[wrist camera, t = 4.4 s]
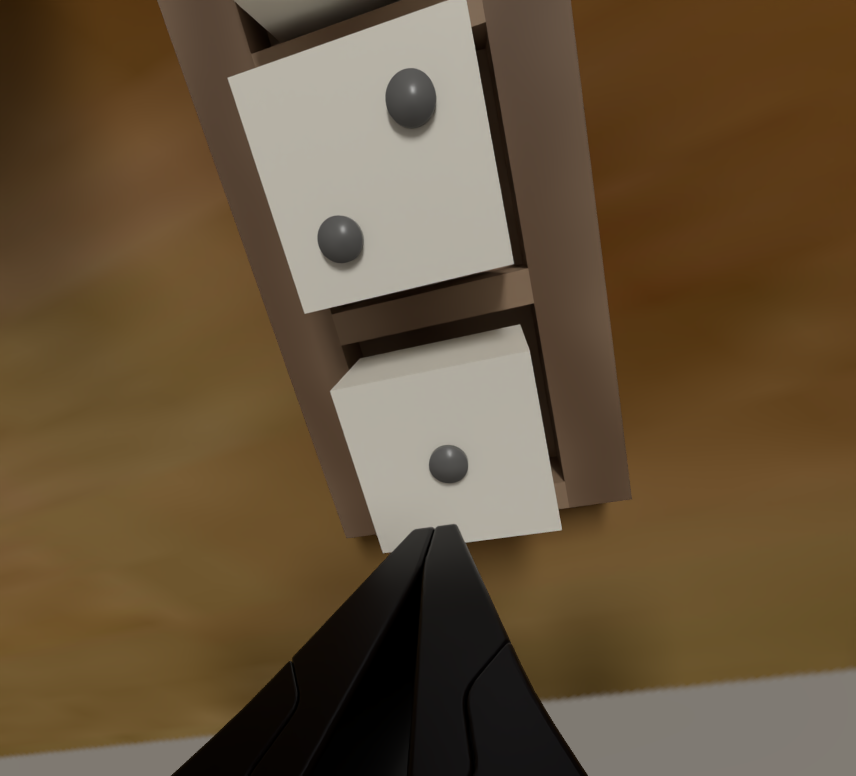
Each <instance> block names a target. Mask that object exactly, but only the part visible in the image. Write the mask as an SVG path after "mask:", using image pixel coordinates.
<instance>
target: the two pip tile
mask: <svg viewBox="0 0 856 776" xmlns="http://www.w3.org/2000/svg"><path fill="white" fill-rule="evenodd" d="M228 81H229V84H230V87H231V90H232V93H233V96H234V99H235V102H236V106H237V109H238V112H239V115H240V118H241V121H242V124H243V127H244V130H245V133H246V136H247V139H248V142H249V145H250V148H251V151H252V154H253V157H254V161H255V164H256V167H257V170H258V173H259V176H260V179H261V182H262V185H263V188H264V191H265V194H266V197H267V200H268V203H269V206H270V209H271V213H272V216H273V219H274V222H275V225H276V228H277V231H278V234H279V237H280V240H281V243H282V246H283V249H284V252H285V255H286V258H287V261H288V264H289V268H290V271H291V274H292V277H293V280H294V283H295V286H296V289H297V292H298V295H299V298H300V301H301V304H302V307H303V310H304V313H305V314H306V313H310V312H315V311H319V310H323V309H327V308H331V307H336V306H340V305H344V304H348V303H352V302H357V301H361V300H365V299H369V298H373V297H378V296H382V295H386V294H390V293H394V292H399V291H403V290H407V289H411V288H415V287H420V286H424V285H428V284H432V283H436V282H441V281H445V280H449V279H453V278H458V277H462V276H466V275H470V274H474V273H479V272H483V271H487V270H491V269H495V268H500V267H504V266H508V265H512V264H514V261H513V255H512V250H511V244H510V239H509V233H508V228H507V222H506V217H505V211H504V206H503V200H502V194H501V189H500V183H499V178H498V172H497V167H496V161H495V156H494V150H493V145H492V139H491V134H490V128H489V122H488V117H487V111H486V106H485V100H484V95H483V89H482V84H481V78H480V73H479V67H478V61H477V56H476V50H475V45H474V39H473V34H472V28H471V23H470V17H469V12H468V6H467V1H466V0H447V1H444V2H441V3H438V4H435V5H433V6H430V7H427V8H424V9H421V10H418V11H416V12H413V13H410V14H407V15H404V16H401V17H399V18H396V19H393V20H390V21H387V22H384V23H382V24H379V25H376V26H373V27H370V28H367V29H365V30H362V31H359V32H356V33H353V34H350V35H348V36H345V37H342V38H339V39H336V40H333V41H330V42H328V43H325V44H322V45H319V46H316V47H313V48H311V49H308V50H305V51H302V52H299V53H296V54H294V55H291V56H288V57H285V58H282V59H279V60H277V61H274V62H271V63H268V64H265V65H262V66H260V67H257V68H254V69H251V70H248V71H245V72H243V73H240V74H237V75H234V76H231V77H228Z"/></svg>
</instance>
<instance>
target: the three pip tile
mask: <svg viewBox="0 0 856 776" xmlns="http://www.w3.org/2000/svg"><path fill="white" fill-rule="evenodd" d="M234 1H235V2H236V3H237V4H238V5H239V6H240V7H241V8H243V9H244V10H245V11H246V12H247V13H248V14H249V15H250V16H252V17H253V18H254V19H255V20H256V21H257V22H258V23H259V24H260V25H262V26H263V27H264V28H265V29H266V30H267V31H268V32H269V33H271V34H272V35H273V36H274V37H275V38H276V39H277V40H278V41H280V42H281V43H284V42H286V41H289V40H292V39H295V38H297V37H300V36H303V35H306V34H309V33H311V32H314V31H317V30H320V29H323V28H325V27H328V26H331V25H334V24H336V23H339V22H342V21H345V20H348V19H350V18H353V17H356V16H359V15H361V14H364V13H367V12H370V11H373V10H375V9H378V8H381V7H384V6H387V5H389V4H392V3H395V2H398V1H400V0H234Z"/></svg>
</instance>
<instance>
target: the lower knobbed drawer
mask: <svg viewBox="0 0 856 776" xmlns="http://www.w3.org/2000/svg"><path fill="white" fill-rule="evenodd" d="M330 393H331V396H332V399H333V402H334V405H335V408H336V411H337V414H338V417H339V420H340V423H341V426H342V430H343V433H344V436H345V439H346V442H347V445H348V448H349V451H350V454H351V457H352V460H353V463H354V466H355V469H356V472H357V475H358V478H359V481H360V485H361V488H362V491H363V494H364V497H365V500H366V503H367V506H368V509H369V512H370V515H371V518H372V521H373V524H374V527H375V530H376V533H377V536H378V540H379V543H380V546H381V549H382V552H383V553H389V552H393V550H394V549H395V548H396V547H397V546H398V545H399V544H400V543H401V542H402V541H403V540H404V539H405V538H406V537H407V536H408V535H409V534H410V532H411V531H413V530H414V529H419V528H427V527H433V528H436V527H437V526H441V525H449V524H456V525H457V526H458V528H459V530H460V532H461V534H462V537H463V539H464V541H465V543H466V542H474V541H482V540H489V539H497V538H505V537H513V536H520V535H528V534H536V533H544V532H551V531H559V530H562V527H561V521H560V516H559V510H558V505H557V499H556V494H555V488H554V482H553V477H552V471H551V466H550V460H549V455H548V449H547V444H546V438H545V433H544V427H543V422H542V416H541V410H540V405H539V399H538V394H537V388H536V383H535V377H534V372H533V366H532V361H531V355H530V350H529V347H528V345H527V342H526V339H525V336H524V333H523V331H522V328H521V325H520V324H519V325H514V326H510V327H505V328H500V329H496V330H491V331H486V332H482V333H477V334H472V335H467V336H463V337H458V338H453V339H449V340H444V341H439V342H435V343H430V344H425V345H421V346H416V347H411V348H406V349H402V350H397V351H392V352H388V353H383V354H378V355H374V356H369V357H364V358H360V359H359V360H358V361H357V362H356V363H355V364H354V365H353V367H352V368H351V369H350V370H349V371H348V372H347V373H346V374H345V375H344V376H343V377H342V379H341V380H340V381H339V382H338V383H337V384H336V385H335V386H334V387H333V388H332V389H331V390H330Z"/></svg>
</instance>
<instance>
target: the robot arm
mask: <svg viewBox="0 0 856 776" xmlns="http://www.w3.org/2000/svg"><path fill="white" fill-rule="evenodd" d="M292 662H293V663H292ZM292 662H291V661H289V662H288V663H287V664H286V665H285V666H284V667H283V668H282V669H281V670H280V671H279V672H278V673H277V674H276V675H275V676H274V677H273V678H272V680H271V681H270V682H269V683H268V684H267V685H266V686H265V687H264V688H263V689H262V690H261V691H260V692H259V693H258V694H257V695H256V696H255V697H254V698H253V699H252V700H251V701H250V702H249V703H248V704H247V705H246V706H245V707H244V708H243V709H242V710H241V711H240V712H239V713H238V714H237V715H236V716H235V717H234V718H232V719H231V720H230V721H229V722H228V723H227V724H226V725H225V726H224V727H223V728H222V729H221V730H220V731H219V732H218V733H217V734H216V735H215V736H214V737H212V738H211V739H210V740H209V741H208V742H207V743H206V744H205V745H204V746H203V747H202V748H201V749H200V750H198V751H197V753H195V754H194V755H193V756H192V757H191V758H190V759H189V760H188V761H186V762H185V763H184V764H183V765H182V766H181V767H180V768H179V769H178V770H177V771H176V772H175V773H173V774H172V775H171V776H588V775H587V773H586V772H585V770H584V769H583V767H582V766H581V764H580V763H579V761H578V760H577V758H576V757H575V755H574V753H573V752H572V750H571V749H570V747H569V746H568V744H567V743H566V741H565V740H564V738H563V737H562V735H561V734H560V732H559V730H558V729H557V727H556V726H555V724H554V723H553V721H552V719H551V718H550V716H549V714H548V713H547V711H546V709H545V708H544V706H543V704H542V703H541V701H540V699H539V698H538V696H537V694H536V693H535V691H534V689H533V687H532V685H531V683H530V681H529V679H528V677H527V675H526V673H525V671H524V669H523V667H522V665H521V663H520V661H519V659H518V656H517V654H516V652H515V650H514V648H513V646H512V644H511V642H510V639H509V637H508V635H507V633H506V631H505V628H504V626H503V624H502V622H501V620H500V618H499V615H498V613H497V611H496V609H495V607H494V604H493V602H492V600H491V598H490V596H489V593H488V591H487V589H486V587H485V585H484V582H483V580H482V578H481V576H480V574H479V572H478V569H477V567H476V565H475V563H474V561H473V558H472V556H471V554H470V552H469V550H468V547H467V545H466V543H465V541H464V539H463V537H462V534H461V532H460V530H459V528H458V526H457V525H456V524H449V525H441V526H437V527H436V528H433V527H427V528H419V529H414V530H413V531H411V532H410V534H409V535H408V536H407V537H406V538H405V539H404V540H403V541H402V542H401V543H400V544H399V545H398V546H397V547H396V548H395V549H394V550H393V552H392V553H391V554H390V555H389V556H388V557H387V558H386V559H385V560H384V561H383V562H382V563H381V564H380V565H379V566H378V567H377V568H376V570H375V571H374V572H373V573H372V574H371V575H370V576H369V577H368V578H367V579H366V580H365V581H364V582H363V583H362V584H361V585H360V587H359V588H358V589H357V590H356V591H355V592H354V593H353V594H352V595H351V596H350V597H349V598H348V599H347V600H346V601H345V602H344V603H343V605H342V606H341V607H340V608H339V609H338V610H337V611H336V612H335V613H334V614H333V615H332V616H331V617H330V618H329V619H328V620H327V621H326V623H325V624H324V625H323V626H322V627H321V628H320V629H319V630H318V631H317V632H316V633H315V634H314V635H313V636H312V637H311V638H310V639H309V641H308V642H307V643H306V644H305V645H304V646H303V647H302V648H301V649H300V650H299V651H298V652H297V653H296V654H295V655H294V656H293V658H292Z"/></svg>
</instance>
